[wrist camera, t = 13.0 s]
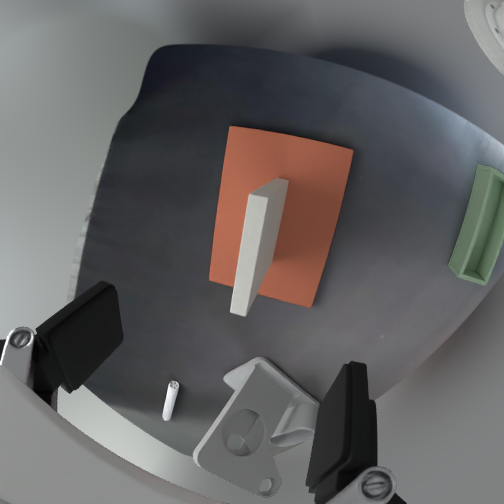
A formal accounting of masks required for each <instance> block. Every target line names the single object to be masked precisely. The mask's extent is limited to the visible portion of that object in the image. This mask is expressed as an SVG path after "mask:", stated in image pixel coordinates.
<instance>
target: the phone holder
mask: <svg viewBox="0 0 504 504" xmlns="http://www.w3.org/2000/svg"><path fill="white" fill-rule="evenodd" d="M224 381H225V382H226V383H227V384H228V385H229V386H230V387H232V388H233V389H234V390H235V392H234V394H233V395H232V397H231V398H230V400H229V401H228V403H227V404H226V406H225V407H224V409H223V410H222V412H221V413H220V415H219V416H218V417H217V419H216V420H215V422H214V423H213V425H212V426H211V428H210V429H209V430H208V432H207V433H206V435H205V436H204V438H203V439H202V440H201V442H200V443H199V445H198V446H197V447H196V449H195V450H194V453H193V459H194V462H195V463H196V464H197V465H198V466H199V467H201V468H203V469H205V470H206V471H208V472H210V473H212V474H214V475H216V476H217V477H219V478H221V479H223V480H225V481H228V482H229V483H232V484H233V485H235V486H238V487H240V488H242V489H244V490H247V491H249V492H251V493H254V494H256V495H259V496H261V497H264V498H269V497H272V496H274V495H275V494H276V493H277V491H278V490H279V488H280V486H281V484H282V480H281V477H280V474H279V472H278V469H277V466H276V464H275V461H274V458H273V456H272V453H271V451H270V448H269V442H270V443H271V444H273V445H276V446H281V447H284V446H290V445H293V444H297V443H300V442H304V441H307V440H311V439H313V438H314V433H315V427H316V420H317V413H318V409H319V406H320V403H319V402H318V401H316V400H315V399H314V398H313V397H312V396H310V395H309V394H308V393H307V392H305V391H304V390H303V389H302V388H301V387H299V386H298V385H297V384H296V383H295V382H293V381H292V380H291V379H290V378H289V377H287V376H286V375H285V374H284V373H283V372H282V371H280V370H279V369H278V368H277V367H276V366H275V365H274V364H272V363H271V362H270V361H269V360H268V359H266V358H264V357H256V358H254V359H252V360H250V361H249V362H247V363H245V364H243V365H241V366H239V367H237V368H236V369H234V370H232V371H230V372H228V373H227V374H226V375H225V376H224ZM233 434H237V435H239V436H240V437H241V439H242V445H241V447H240V448H239V449H238V450H235V451H232V450H230V449H229V448H228V446H227V440H228V438H229V437H230V436H231V435H233ZM264 479H268V480H269V482H270V485H269V488H268V489H267V490H266V491H264V492H259V485H260V484H261V482H262V481H263V480H264Z"/></svg>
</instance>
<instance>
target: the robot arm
mask: <svg viewBox="0 0 504 504" xmlns="http://www.w3.org/2000/svg"><path fill="white" fill-rule="evenodd" d="M484 13H485V18H486V21H487V24H488V26H489V28H490V31H491V32H492V34H493V36H494V38H495V39H496V41H497V42H498V44H499V45H500V46H501V48H502V49H503V50H504V2H503V3H501V2H497V1H491V2H489V3H488V4H487V5H486V6H485V11H484ZM36 332H37V334H36V335H34V332H33V331H32V330H31V329H30V328H28V327H19V328H16V329H14V330H13V331H12V332H11V333H10V334H9V335H8V337H7V339H6V340H0V504H228V503H224V502H221V501H218V500H215V499H212V498H209V497H206V496H203V495H200V494H198V493H195V492H192V491H190V490H187V489H185V488H182V487H180V486H177V485H175V484H173V483H170V482H168V481H166V480H164V479H162V478H159V477H157V476H155V475H153V474H151V473H149V472H147V471H145V470H143V469H141V468H139V467H137V466H135V465H134V464H132V463H130V462H128V461H127V460H125V459H123V458H121V457H120V456H118V455H116V454H115V453H113V452H111V451H110V450H108V449H107V448H105V447H103V446H102V445H100V444H99V443H97V442H96V441H94V440H93V439H91V438H90V437H89V436H87V435H85V434H84V433H83V432H81V431H80V430H79V429H77V428H76V427H75V426H74V425H72V424H71V423H70V422H68V421H67V420H66V419H65V418H63V417H62V416H61V415H60V414H58V413H57V394H58V387H59V386H60V385H61V387H62V388H63V389H64V390H65V391H67V392H68V393H69V394H70V393H71V392H72V391H73V390H77V389H78V388H79V387H80V386H81V385H82V384H83V383H84V382H85V381H86V380H87V379H88V378H89V377H90V375H91V374H92V373H93V372H94V371H95V370H96V369H97V368H98V367H99V366H100V365H101V364H102V363H103V362H104V361H105V360H106V359H107V358H108V357H109V356H110V355H111V353H112V352H113V351H114V350H115V349H116V348H117V347H118V346H119V345H120V344H121V343H122V341H123V331H122V324H121V318H120V311H119V303H118V295H117V291H116V290H115V287H114V285H112V284H110V283H107V282H105V281H100V282H99V283H97V284H96V285H94V286H93V287H91V288H90V289H89V290H87V291H86V292H84V293H83V294H81V295H80V296H79V297H77V298H76V299H75V300H73V301H72V302H70V303H69V304H68V305H66V306H65V307H64V308H62V309H61V310H60V311H58V312H57V313H55V314H54V315H53V316H52V317H50V318H49V319H48V320H46V321H45V322H44V323H42V324H41V325H40V326H39V327H37V328H36ZM306 486H309V493H315V499H314V501H315V504H407V503H406V502H405V501H403V500H402V499H401V498H400V497H399V496H398V495H397V494H396V493H395V491H396V487H397V482H396V478H395V476H394V475H393V473H392V472H391V471H390V470H388V469H386V468H384V467H380V466H377V415H376V404H375V401H374V400H369V395H368V379H367V367H366V364H364V363H359V362H354V361H351V362H350V363H349V364H344V365H343V367H342V369H341V370H340V372H339V374H338V376H337V377H336V379H335V381H334V383H333V384H332V386H331V388H330V389H329V391H328V393H327V394H326V396H325V398H324V399H323V401H322V402H321V404H320V406H319V409H318V413H317V420H316V427H315V433H314V440H313V446H312V452H311V458H310V463H309V469H308V474H307V479H306Z"/></svg>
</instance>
